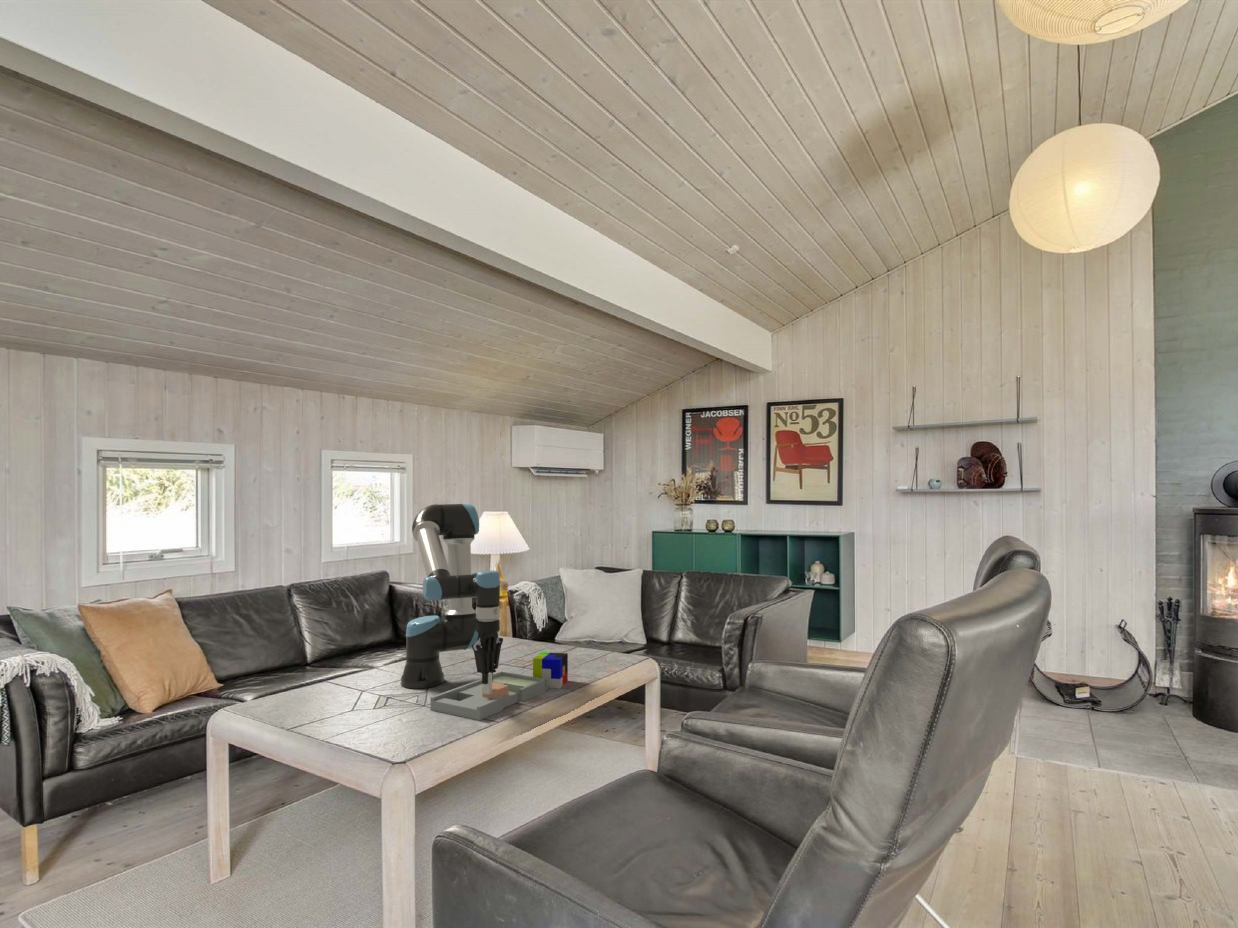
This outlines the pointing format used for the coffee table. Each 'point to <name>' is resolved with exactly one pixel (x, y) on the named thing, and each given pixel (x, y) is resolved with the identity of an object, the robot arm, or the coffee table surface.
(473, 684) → the trap box
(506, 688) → the block
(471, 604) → the robot arm
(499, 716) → the coffee table surface
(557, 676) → the puzzle toy
